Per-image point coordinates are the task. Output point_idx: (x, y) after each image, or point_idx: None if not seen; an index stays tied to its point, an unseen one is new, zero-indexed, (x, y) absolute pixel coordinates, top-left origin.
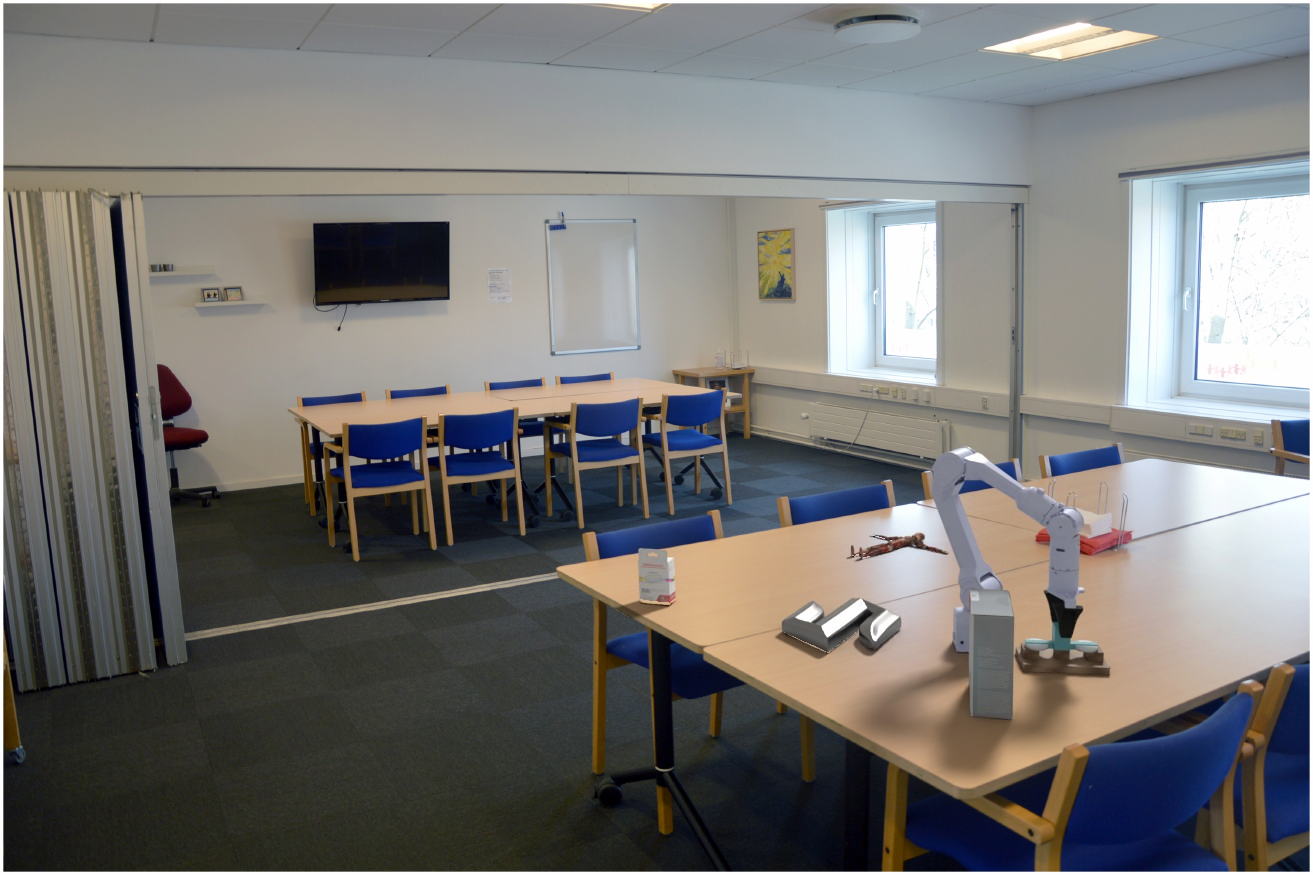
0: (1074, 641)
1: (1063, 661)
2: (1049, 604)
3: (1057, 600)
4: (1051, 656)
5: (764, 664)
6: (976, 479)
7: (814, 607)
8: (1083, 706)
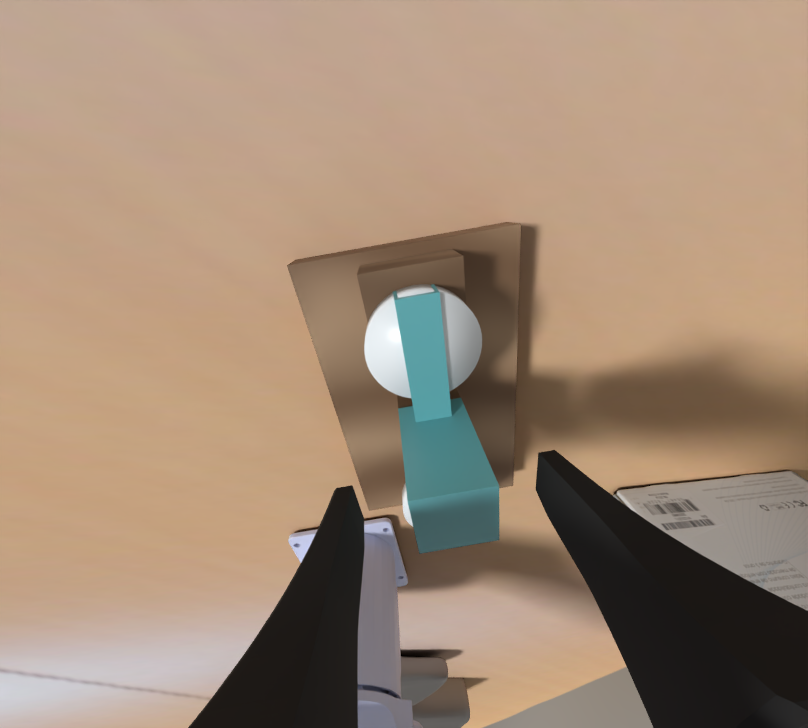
0: (412, 397)
1: (472, 394)
2: (356, 680)
3: (341, 713)
4: None
5: (517, 699)
6: None
7: None
8: (771, 330)
